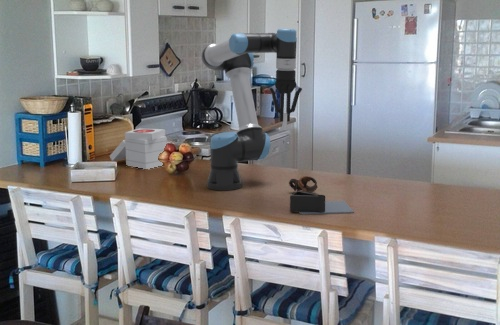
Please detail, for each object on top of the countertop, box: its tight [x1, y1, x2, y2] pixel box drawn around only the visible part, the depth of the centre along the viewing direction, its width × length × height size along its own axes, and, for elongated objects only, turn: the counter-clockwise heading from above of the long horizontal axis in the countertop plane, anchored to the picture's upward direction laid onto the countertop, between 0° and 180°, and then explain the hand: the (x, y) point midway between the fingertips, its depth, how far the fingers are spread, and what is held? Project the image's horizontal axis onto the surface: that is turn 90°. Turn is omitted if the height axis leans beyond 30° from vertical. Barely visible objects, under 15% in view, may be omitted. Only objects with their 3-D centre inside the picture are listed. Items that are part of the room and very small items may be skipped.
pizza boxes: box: [109, 128, 168, 170], centre depth 321 cm, size 19×30×18 cm, turn 51°
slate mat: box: [298, 200, 355, 215], centre depth 237 cm, size 20×16×1 cm
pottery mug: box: [288, 175, 318, 193], centre depth 259 cm, size 12×10×8 cm
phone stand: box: [289, 190, 326, 213], centre depth 231 cm, size 9×6×12 cm
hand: (284, 129), depth 246 cm, fingers closed
